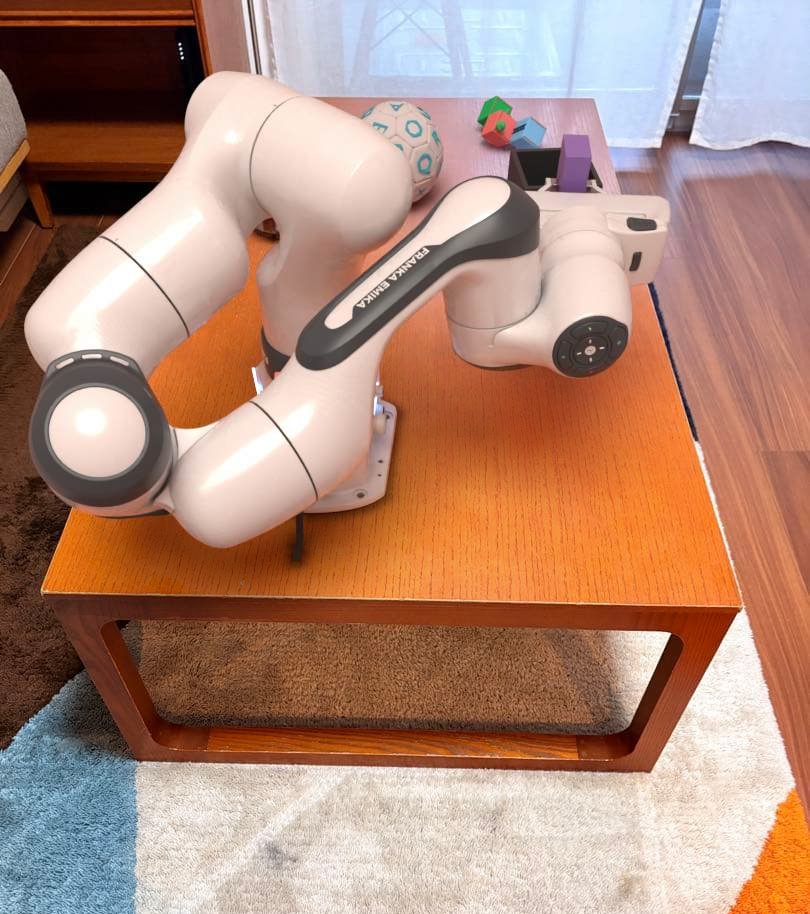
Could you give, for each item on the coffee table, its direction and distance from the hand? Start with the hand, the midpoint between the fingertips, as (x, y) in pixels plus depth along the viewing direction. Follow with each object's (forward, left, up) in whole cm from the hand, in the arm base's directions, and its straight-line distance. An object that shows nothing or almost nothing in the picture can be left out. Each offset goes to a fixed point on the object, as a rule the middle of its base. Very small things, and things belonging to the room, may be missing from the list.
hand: (569, 184), depth 94 cm
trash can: (+23, -5, -24) cm, 33 cm away
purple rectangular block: (-1, 0, -6) cm, 6 cm away
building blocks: (+58, -6, -24) cm, 63 cm away
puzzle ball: (+41, +16, -24) cm, 50 cm away
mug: (+34, +35, -24) cm, 54 cm away
